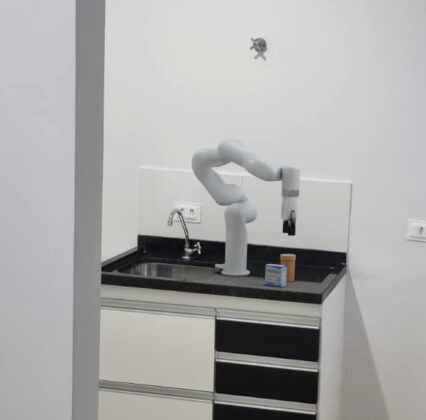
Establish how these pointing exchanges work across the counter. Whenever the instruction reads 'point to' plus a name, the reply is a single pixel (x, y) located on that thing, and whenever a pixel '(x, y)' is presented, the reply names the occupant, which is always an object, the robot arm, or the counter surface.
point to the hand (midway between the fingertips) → (288, 234)
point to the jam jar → (289, 269)
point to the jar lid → (287, 257)
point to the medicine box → (275, 275)
